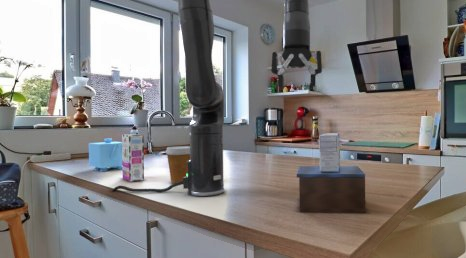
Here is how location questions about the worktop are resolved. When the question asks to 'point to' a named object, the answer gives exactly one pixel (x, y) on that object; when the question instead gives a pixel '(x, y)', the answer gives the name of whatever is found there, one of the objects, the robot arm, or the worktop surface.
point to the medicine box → (329, 152)
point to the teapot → (105, 155)
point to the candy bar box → (133, 157)
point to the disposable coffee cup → (178, 162)
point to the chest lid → (343, 172)
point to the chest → (332, 194)
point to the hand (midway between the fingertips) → (296, 88)
